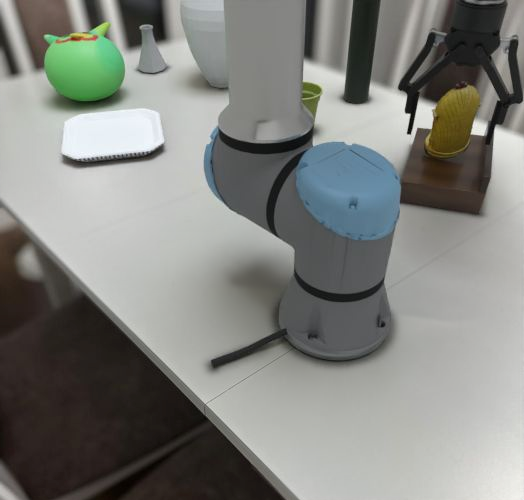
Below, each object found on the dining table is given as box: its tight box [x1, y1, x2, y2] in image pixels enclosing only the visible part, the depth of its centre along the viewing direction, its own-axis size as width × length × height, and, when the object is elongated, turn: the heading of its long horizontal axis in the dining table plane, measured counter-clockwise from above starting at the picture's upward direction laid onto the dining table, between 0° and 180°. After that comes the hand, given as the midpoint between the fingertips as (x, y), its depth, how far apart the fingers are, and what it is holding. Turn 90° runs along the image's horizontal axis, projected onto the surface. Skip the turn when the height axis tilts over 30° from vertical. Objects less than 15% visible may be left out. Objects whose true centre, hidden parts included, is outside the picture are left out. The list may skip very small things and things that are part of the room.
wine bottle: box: [343, 0, 382, 104], centre depth 115 cm, size 6×6×30 cm
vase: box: [179, 0, 228, 89], centre depth 124 cm, size 18×18×25 cm
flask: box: [137, 24, 168, 74], centre depth 137 cm, size 7×7×10 cm
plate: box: [60, 107, 166, 163], centre depth 112 cm, size 21×21×2 cm
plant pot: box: [302, 80, 324, 129], centre depth 111 cm, size 9×9×9 cm
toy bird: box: [43, 21, 126, 102], centre depth 123 cm, size 18×17×15 cm
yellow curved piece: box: [424, 80, 483, 159], centre depth 92 cm, size 12×8×15 cm
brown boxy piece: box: [400, 120, 495, 215], centre depth 98 cm, size 22×14×7 cm, turn 162°
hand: (447, 136), depth 95 cm, fingers open, 13 cm apart
